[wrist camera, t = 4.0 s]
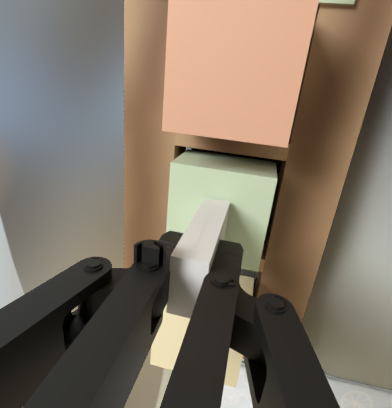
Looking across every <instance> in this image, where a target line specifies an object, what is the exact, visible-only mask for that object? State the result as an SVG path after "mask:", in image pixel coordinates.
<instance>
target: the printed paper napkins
mask: <svg viewBox="0 0 392 408" xmlns="http://www.w3.org/2000/svg"><path fill="white" fill-rule="evenodd" d="M325 376H326V378H327V380H328V382H329V385H330V387H331V389H332V391H333V393H334V395H335V398H336V400H337V402H338V404H339V406H340V408H392V390H388V389H382V388H378V387H373V386H369V385H365V384H361V383H356V382H352V381H348V380H344V379H340V378H336V377H332V376H328V375H325ZM221 408H253V405H252V400H251V395H250V389H249V384H248V379H247V373H246V368H245V363H244V359H242V363H241V367H240V372H239V377H238V381H237V386H236V388H234V387H231V386H227V385H224V388H223V395H222V401H221Z"/></svg>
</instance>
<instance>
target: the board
mask: <svg viewBox="0 0 392 408" xmlns="http://www.w3.org/2000/svg"><path fill="white" fill-rule="evenodd" d="M167 18H168V0H124V268H130V267H131V266H132V264H133V263H134V244H136V243H137V242H139V241H142V240H149V239H151V240H158V241H159V239H160V237H161V236H162V235H163V234H164V233H166V225H167V209H168V193H169V177H170V162H172V161H173V160H174V159H176V158H177V157H178V156H180V155H181V154H182V153H184V152H185V151H186V147H191V148H198V149H205V150H212V151H219V152H226V153H233V154H240V155H247V156H254V157H261V158H268V159H275V160H282V163H281V168H280V173H279V178H278V182H277V187H276V192H275V197H274V201H273V206H272V211H271V216H270V220H269V225H268V230H267V235H266V239H265V241H264V246H263V250H262V255H261V260H260V265H259V270H258V271H259V273H258V277H257V282H256V287H255V292H254V296H253V297H255V298H258V297H259V296H260V295H262V294H268V293H272V294H277V295H280V296H282V297H284V298H286V299H287V300H288V301H290V302H291V303H292V305H293V306H294V308H295V310H296V312H297V314H298V317H299V319H300V321H301V323H302V321H303V318H304V315H305V311H306V308H307V305H308V301H309V298H310V295H311V291H312V288H313V285H314V282H315V278H316V275H317V272H318V268H319V265H320V262H321V258H322V255H323V252H324V248H325V245H326V242H327V238H328V235H329V232H330V229H331V225H332V222H333V219H334V215H335V212H336V209H337V205H338V202H339V199H340V195H341V192H342V189H343V185H344V182H345V179H346V175H347V172H348V169H349V166H350V162H351V159H352V156H353V152H354V149H355V146H356V142H357V139H358V136H359V132H360V129H361V126H362V122H363V119H364V116H365V113H366V109H367V106H368V103H369V99H370V96H371V93H372V89H373V86H374V83H375V79H376V76H377V73H378V69H379V66H380V63H381V60H382V56H383V53H384V50H385V46H386V43H387V40H388V36H389V33H390V30H391V26H392V0H319V3H318V7H317V12H316V17H315V21H314V26H313V31H312V35H311V40H310V45H309V49H308V54H307V59H306V63H305V68H304V73H303V77H302V82H301V87H300V91H299V96H298V101H297V105H296V110H295V115H294V120H293V124H292V129H291V134H290V138H289V143H288V148H286V147H278V146H271V145H263V144H256V143H248V142H241V141H234V140H226V139H219V138H211V137H204V136H196V135H189V134H181V133H174V132H167V131H162V119H163V99H164V78H165V58H166V38H167ZM242 359H244V356H243V358H242Z"/></svg>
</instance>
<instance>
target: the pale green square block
mask: <svg viewBox="0 0 392 408" xmlns="http://www.w3.org/2000/svg"><path fill="white" fill-rule="evenodd" d="M276 184H277V169H276V162H272V161H265V160H258V159H251V158H244V157H237V156H230V155H223V154H216V153H209V152H202V151H195V150H186V151H185V152H184V153H182V154H181V155H180V156H178V157H177V158H176V159H174V160H173V161H172V162H170V177H169V193H168V209H167V225H166V232H168V231H175V232H180V233H184V232H185V230H186V228H187V227H188V225H189V223H190V222H191V220H192V218H193V216H194V215H195V213H196V211H197V210H198V208H199V206H200V204H201V203H202V201H203V199H204V198H209V199H215V200H221V201H227V202H230V205H229V212H228V219H227V225H226V232H225V239H224V240H225V241H230V242H236V243H240V244H241V246H242V247H243V249H244V251H243V258H242V265H241V269H246V270H251V271H255V272H258V270H259V265H260V260H261V255H262V250H263V246H264V241H265V236H266V231H267V227H268V222H269V217H270V212H271V208H272V203H273V198H274V193H275V188H276Z"/></svg>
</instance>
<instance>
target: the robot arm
mask: <svg viewBox="0 0 392 408" xmlns="http://www.w3.org/2000/svg"><path fill="white" fill-rule="evenodd" d="M229 205H230V202H227V201H221V200H215V199H209V198H204V199H203V201H202V203H201V204H200V206H199V208H198V210H197V211H196V213H195V215H194V216H193V218H192V220H191V222H190V223H189V225H188V227H187V228H186V230H185V232H184V233H180V232H175V231H168V232H166V233H164V234H163V235H162V236H161V237H160V239H159V241H158V240H151V239H149V240H142V241H139V242H137V243H136V244H134V263H133V264H132V266H131V267H130V268H112V264H111V262H110V261H109V260H108V259H106V258H103V257H90V258H86V259H84V260H81V261H80V262H78V263H76V264H75V265H73V266H71V267H70V268H68V269H66V270H65V271H63V272H61V273H60V274H58V275H56V276H55V277H53V278H51V279H50V280H48V281H46V282H45V283H43V284H41V285H40V286H38V287H36V288H35V289H33V290H31V291H30V292H28V293H26V294H25V295H23V296H21V297H20V298H18V299H16V300H15V301H13V302H11V303H10V304H8V305H6V306H5V307H3V308H1V309H0V408H22V407H23V408H124V406H125V403H126V401H127V399H128V397H129V394H130V392H131V390H132V388H133V386H134V383H135V381H136V379H137V377H138V375H139V372H140V370H141V368H142V366H143V363H144V361H145V359H146V357H147V355H148V352H149V350H150V348H151V346H152V343H153V341H154V339H155V337H156V335H157V332H158V330H159V328H160V326H161V323H162V320H163V311H164V308H165V306H166V304H167V310H166V313H169V314H174V315H178V316H182V317H186V318H190V321H189V324H188V327H187V330H186V333H185V336H184V339H183V341H182V344H181V347H180V350H179V353H178V356H177V359H176V362H175V365H174V368H173V371H172V374H171V377H170V380H169V382H168V385H167V388H166V391H165V394H164V397H163V400H162V403H161V406H160V408H221V401H222V395H223V388H224V381H225V375H226V368H227V361H228V355H229V348H231V349H233V350H235V351H236V352H238V353H240V354H242V355H243V356H244V363H245V368H246V373H247V379H248V384H249V389H250V395H251V400H252V405H253V408H340V406H339V404H338V402H337V400H336V398H335V395H334V393H333V391H332V389H331V387H330V385H329V382H328V380H327V378H326V376H325V374H324V371H323V369H322V367H321V365H320V363H319V360H318V358H317V356H316V354H315V352H314V349H313V347H312V345H311V343H310V341H309V339H308V336H307V334H306V332H305V330H304V328H303V325H302V323H301V321H300V319H299V317H298V314H297V312H296V310H295V308H294V306H293V305H292V303H291V302H290V301H288V300H287V299H286V298H284V297H282V296H280V295H277V294H272V293H268V294H262V295H260V296H259V297H258V298H255V297H253V296H251V295H249V294H248V293H246V292H245V291H244V290H243V289H242V288H241V286H240V284H239V278H240V272H241V265H242V258H243V251H244V249H243V247H242V246H241V244H240V243H236V242H230V241H225V240H224V239H225V232H226V225H227V219H228V212H229ZM76 306H78V309H77V310H76V311H74V312H72V313H71V310H73V309H74V308H75V307H76Z"/></svg>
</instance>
